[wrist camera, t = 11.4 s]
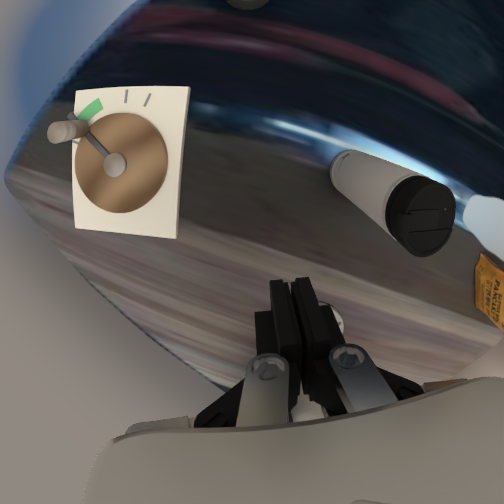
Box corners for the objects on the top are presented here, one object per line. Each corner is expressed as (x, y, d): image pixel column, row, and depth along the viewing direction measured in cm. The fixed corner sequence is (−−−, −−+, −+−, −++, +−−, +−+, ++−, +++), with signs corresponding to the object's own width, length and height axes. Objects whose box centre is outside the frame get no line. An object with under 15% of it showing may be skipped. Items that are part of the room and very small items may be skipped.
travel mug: (326, 149, 35) (403, 183, 17) (371, 149, 35) (468, 185, 17) (326, 195, 38) (394, 265, 20) (370, 193, 38) (456, 257, 20)
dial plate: (178, 234, 40) (175, 239, 38) (80, 224, 38) (74, 228, 37) (190, 88, 31) (188, 86, 30) (81, 91, 30) (75, 90, 28)
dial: (189, 162, 34) (174, 174, 27) (124, 228, 37) (100, 254, 30) (107, 76, 28) (75, 70, 21) (51, 149, 32) (16, 159, 24)
